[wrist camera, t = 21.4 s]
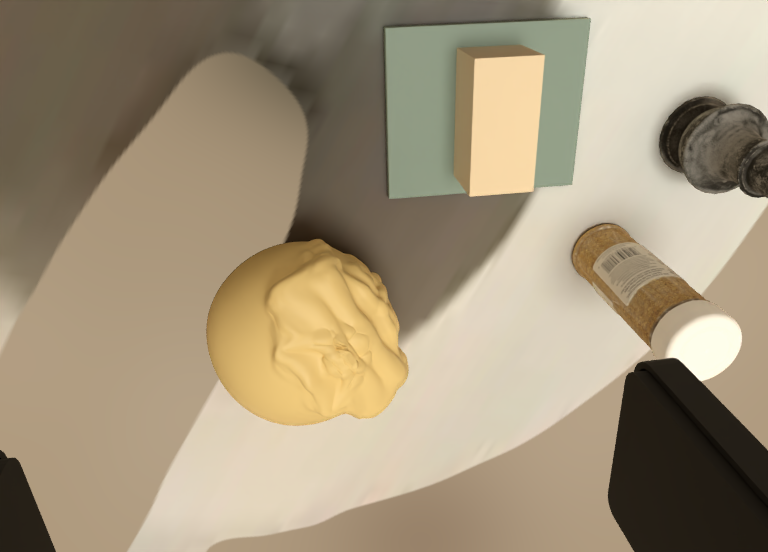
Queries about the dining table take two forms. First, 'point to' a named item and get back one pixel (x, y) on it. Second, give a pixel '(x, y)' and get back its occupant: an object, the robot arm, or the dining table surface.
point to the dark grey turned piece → (718, 146)
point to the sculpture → (306, 336)
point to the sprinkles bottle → (657, 302)
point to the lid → (483, 105)
